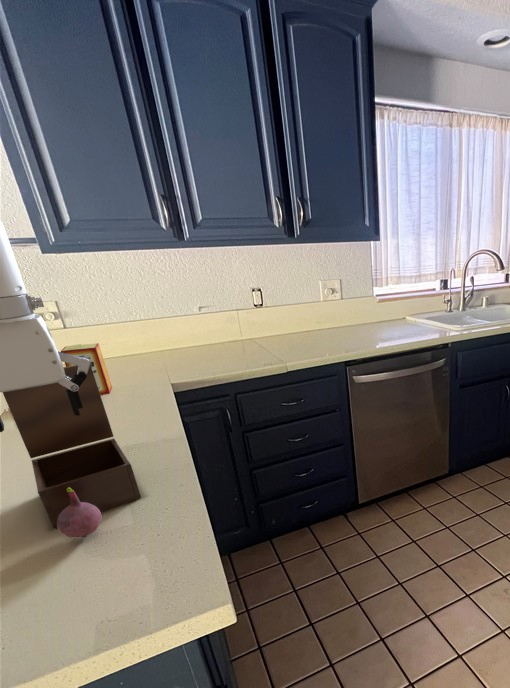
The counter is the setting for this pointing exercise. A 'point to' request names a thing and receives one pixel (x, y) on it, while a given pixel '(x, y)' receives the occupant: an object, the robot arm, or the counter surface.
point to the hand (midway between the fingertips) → (40, 420)
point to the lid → (58, 415)
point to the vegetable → (78, 518)
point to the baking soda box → (92, 363)
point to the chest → (85, 478)
